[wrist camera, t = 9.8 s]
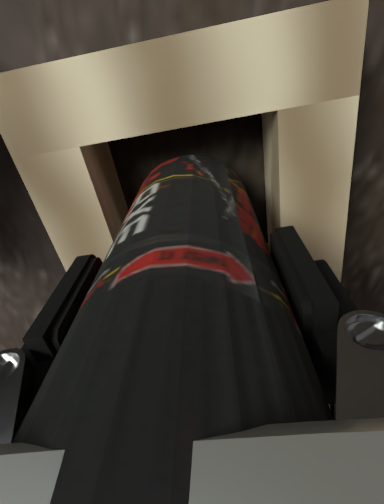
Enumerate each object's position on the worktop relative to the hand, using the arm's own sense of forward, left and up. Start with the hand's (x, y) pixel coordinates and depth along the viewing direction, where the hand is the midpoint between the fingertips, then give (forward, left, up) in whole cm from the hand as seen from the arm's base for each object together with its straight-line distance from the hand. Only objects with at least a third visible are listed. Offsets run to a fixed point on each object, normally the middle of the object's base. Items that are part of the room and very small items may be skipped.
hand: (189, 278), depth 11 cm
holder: (0, 0, -9) cm, 9 cm away
